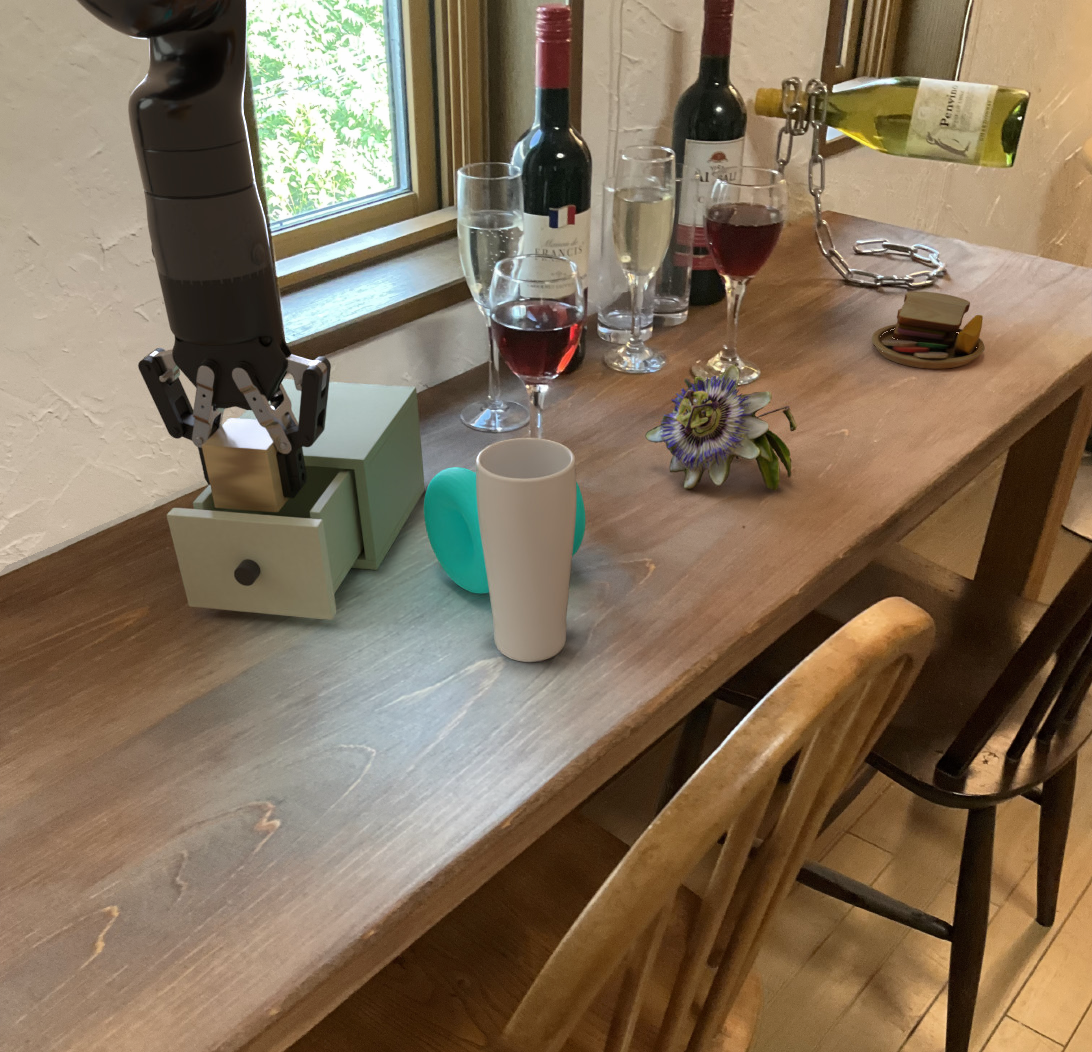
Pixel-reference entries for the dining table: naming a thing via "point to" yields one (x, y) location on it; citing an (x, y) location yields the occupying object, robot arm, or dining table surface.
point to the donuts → (466, 527)
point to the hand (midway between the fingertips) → (257, 490)
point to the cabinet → (371, 455)
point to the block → (243, 467)
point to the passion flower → (721, 431)
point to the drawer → (272, 549)
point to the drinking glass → (527, 542)
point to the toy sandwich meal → (931, 333)
